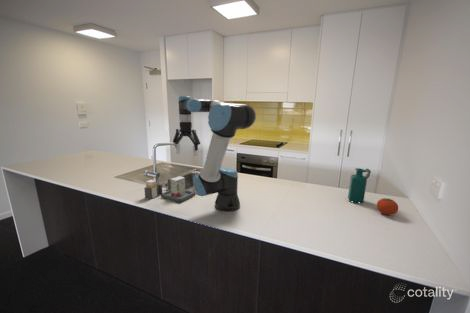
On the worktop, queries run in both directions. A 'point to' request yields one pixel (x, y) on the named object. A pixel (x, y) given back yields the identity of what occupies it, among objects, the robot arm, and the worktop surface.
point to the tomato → (387, 206)
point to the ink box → (177, 186)
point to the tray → (181, 198)
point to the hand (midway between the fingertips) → (186, 154)
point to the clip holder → (154, 189)
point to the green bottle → (358, 185)
